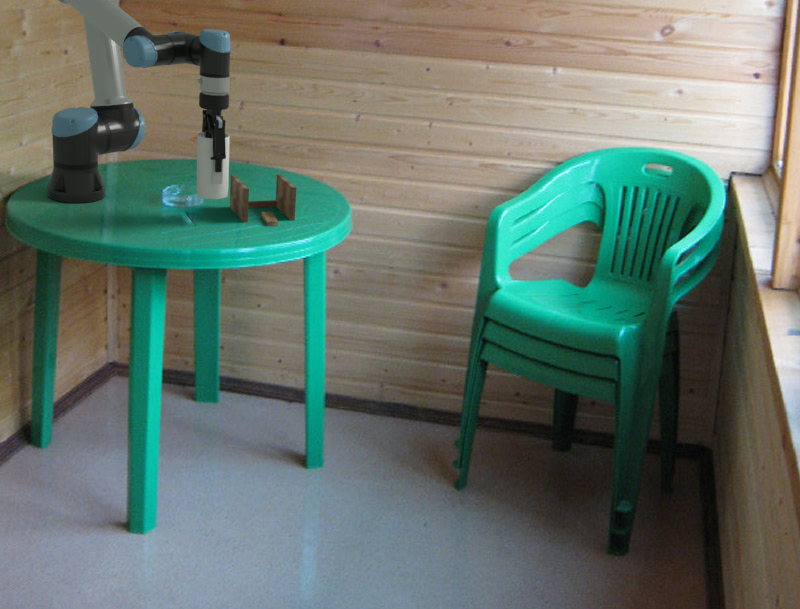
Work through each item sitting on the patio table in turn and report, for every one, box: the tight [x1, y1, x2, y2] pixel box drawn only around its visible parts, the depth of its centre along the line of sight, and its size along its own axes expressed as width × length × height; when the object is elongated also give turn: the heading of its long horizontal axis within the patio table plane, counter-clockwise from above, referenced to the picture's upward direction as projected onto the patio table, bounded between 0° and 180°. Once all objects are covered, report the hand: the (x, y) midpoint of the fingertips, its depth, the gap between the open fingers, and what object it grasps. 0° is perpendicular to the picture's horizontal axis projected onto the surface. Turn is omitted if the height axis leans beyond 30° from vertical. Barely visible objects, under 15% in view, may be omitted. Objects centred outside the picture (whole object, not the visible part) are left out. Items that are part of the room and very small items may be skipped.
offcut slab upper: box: [261, 211, 279, 227], centre depth 281 cm, size 3×9×2 cm, turn 17°
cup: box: [196, 131, 231, 200], centre depth 275 cm, size 8×8×16 cm
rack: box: [229, 173, 297, 224], centre depth 285 cm, size 14×14×10 cm
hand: (212, 179), depth 277 cm, fingers closed on cup, 8 cm apart
